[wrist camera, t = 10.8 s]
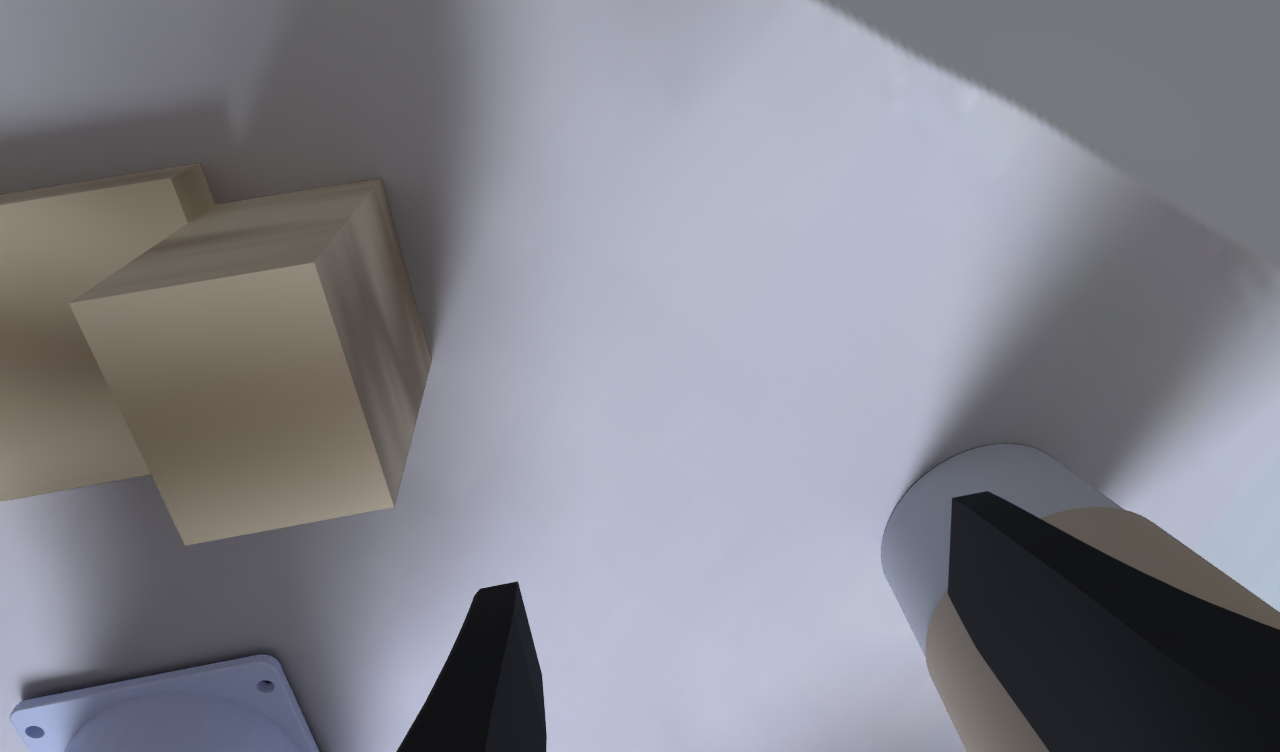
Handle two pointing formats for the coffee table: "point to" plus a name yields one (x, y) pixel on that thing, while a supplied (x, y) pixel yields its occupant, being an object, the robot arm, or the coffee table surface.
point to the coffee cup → (1059, 497)
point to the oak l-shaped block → (208, 348)
